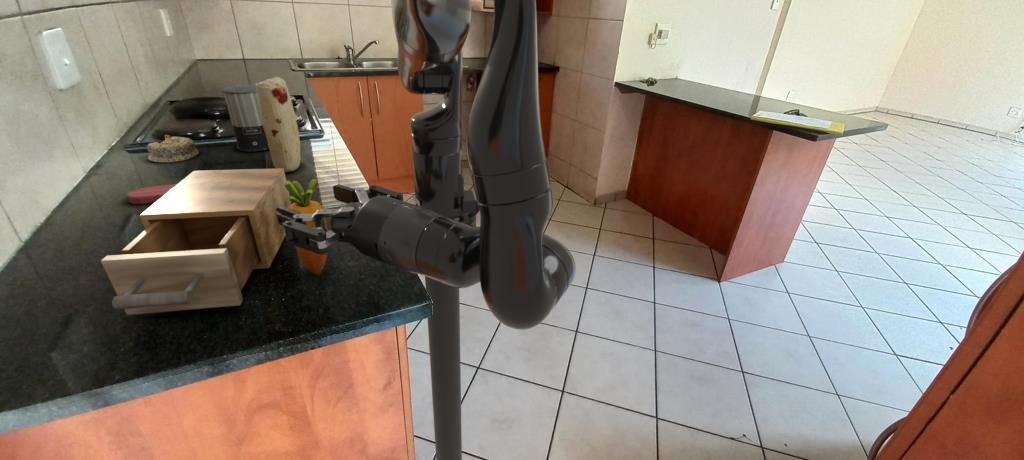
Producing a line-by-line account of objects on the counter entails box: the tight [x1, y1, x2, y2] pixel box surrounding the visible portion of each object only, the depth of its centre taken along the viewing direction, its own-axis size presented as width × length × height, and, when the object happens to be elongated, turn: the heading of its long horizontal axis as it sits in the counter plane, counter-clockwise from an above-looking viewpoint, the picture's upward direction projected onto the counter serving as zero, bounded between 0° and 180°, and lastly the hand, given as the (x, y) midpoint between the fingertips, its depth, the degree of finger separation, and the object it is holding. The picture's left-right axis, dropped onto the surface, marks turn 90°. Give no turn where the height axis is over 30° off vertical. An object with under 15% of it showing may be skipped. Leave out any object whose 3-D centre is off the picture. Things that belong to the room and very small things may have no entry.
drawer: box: [100, 215, 260, 316], centre depth 55 cm, size 20×12×8 cm, turn 12°
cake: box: [146, 134, 200, 163], centre depth 101 cm, size 10×10×5 cm
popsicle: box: [126, 183, 178, 205], centre depth 83 cm, size 5×2×15 cm
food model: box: [255, 76, 302, 173], centre depth 94 cm, size 10×7×20 cm
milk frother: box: [219, 84, 270, 152], centre depth 111 cm, size 14×16×15 cm
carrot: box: [284, 178, 328, 276], centre depth 58 cm, size 5×5×15 cm
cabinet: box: [139, 168, 293, 270], centre depth 66 cm, size 17×14×10 cm
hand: (309, 202), depth 56 cm, fingers open, 8 cm apart
